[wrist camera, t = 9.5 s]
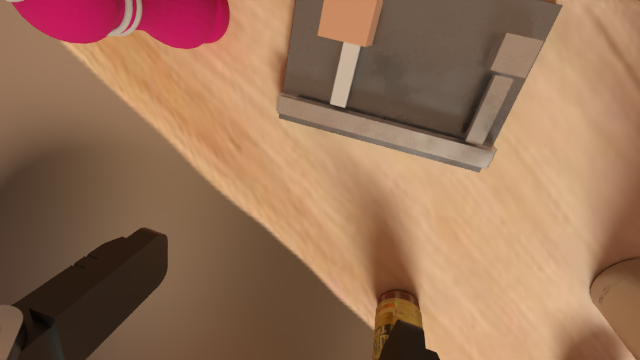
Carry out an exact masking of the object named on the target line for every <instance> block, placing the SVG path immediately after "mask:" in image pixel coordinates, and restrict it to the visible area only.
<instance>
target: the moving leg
mask: <svg viewBox="0 0 640 360" xmlns="http://www.w3.org/2000/svg"><path fill="white" fill-rule="evenodd" d="M382 5H383V0H324V3H323V8H322V14H321V19H320V24H319V30H318V35H317V36H321V37H325V38H329V39H334V40H338V41H342V42H344V43H343V47H342V52H341V56H340V61H339V65H338V70H337V74H336V79H335V83H334V88H333V92H332V97H331V101H330V104H332V105H335V106H339V107H343V108H345V107H346V104H347V100H348V96H349V92H350V88H351V84H352V80H353V76H354V72H355V68H356V64H357V60H358V56H359V52H360V48H361V46H363V47H367V46H371V45H372V43H373V39H374V36H375V32H376V28H377V24H378V20H379V16H380V13H381V9H382Z"/></svg>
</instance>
